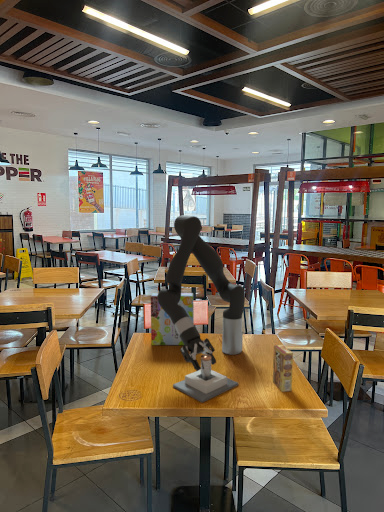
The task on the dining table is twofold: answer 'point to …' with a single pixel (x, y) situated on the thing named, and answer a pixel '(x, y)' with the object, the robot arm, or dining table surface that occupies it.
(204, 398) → the dock
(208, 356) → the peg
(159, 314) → the snack box
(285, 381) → the candy box
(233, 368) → the dining table surface
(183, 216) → the robot arm
